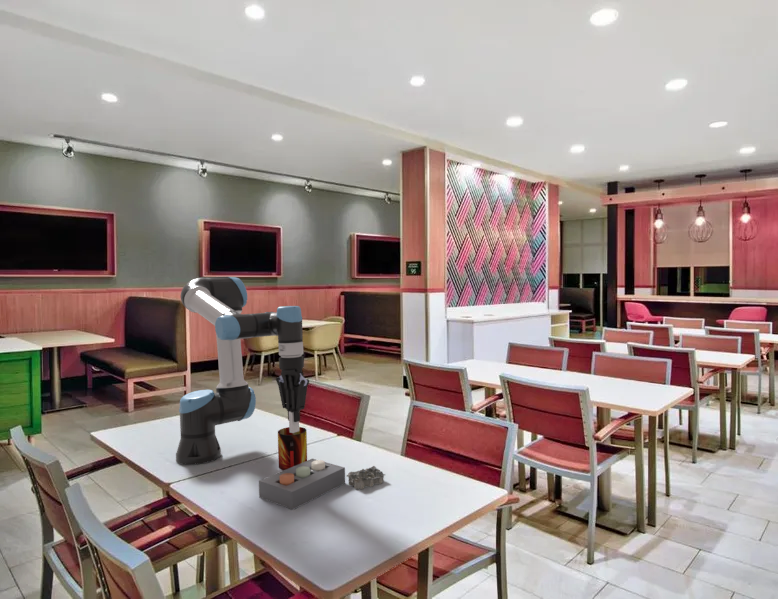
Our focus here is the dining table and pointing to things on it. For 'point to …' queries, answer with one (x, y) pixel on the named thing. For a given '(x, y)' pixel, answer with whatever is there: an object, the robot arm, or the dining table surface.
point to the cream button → (318, 465)
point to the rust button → (286, 479)
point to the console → (301, 485)
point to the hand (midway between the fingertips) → (294, 431)
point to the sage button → (303, 472)
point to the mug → (291, 447)
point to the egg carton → (365, 477)
